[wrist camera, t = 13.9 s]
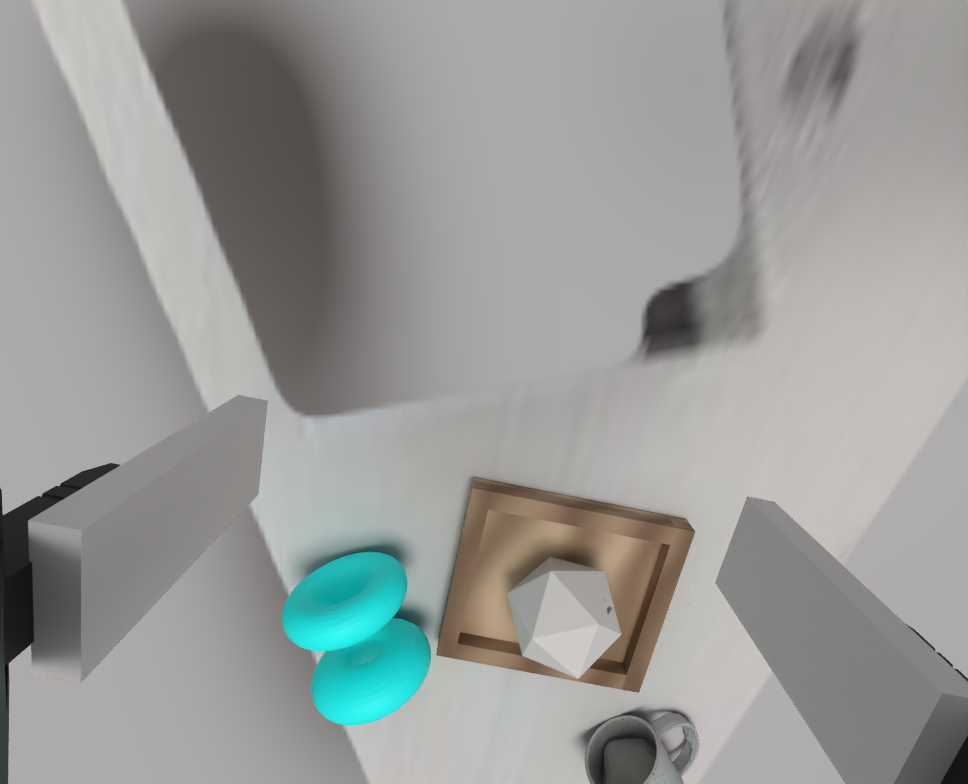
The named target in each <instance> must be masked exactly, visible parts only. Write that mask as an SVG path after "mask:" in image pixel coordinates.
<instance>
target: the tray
mask: <svg viewBox="0 0 968 784" xmlns="http://www.w3.org/2000/svg"><path fill="white" fill-rule="evenodd" d="M694 533H695V531H694V530H693V528H692V527H691V525H690V524H689V522H688V521H687V519H683V518H678V517H673V516H668V515H663V514H658V513H653V512H648V511H643V510H638V509H633V508H627V507H622V506H617V505H612V504H607V503H602V502H597V501H592V500H587V499H582V498H577V497H572V496H567V495H562V494H556V493H551V492H546V491H541V490H536V489H531V488H526V487H521V486H516V485H511V484H506V483H501V482H496V481H491V480H485V479H480V478H475V477H474V478H473V483H472V488H471V492H470V497H469V501H468V506H467V511H466V515H465V520H464V524H463V529H462V534H461V538H460V543H459V547H458V552H457V557H456V561H455V566H454V570H453V575H452V580H451V584H450V589H449V593H448V598H447V603H446V607H445V612H444V616H443V621H442V625H441V630H440V635H439V640H438V647H437V654H436V655H438V656H444V657H449V658H454V659H460V660H465V661H471V662H476V663H481V664H487V665H492V666H498V667H503V668H508V669H514V670H519V671H525V672H530V673H536V674H541V675H546V676H552V677H557V678H563V679H568V680H573V681H579V682H584V683H590V684H595V685H600V686H606V687H611V688H617V689H622V690H627V691H633V692H638V693H639V691H640V688H641V685H642V682H643V679H644V677H645V674H646V671H647V668H648V665H649V662H650V659H651V657H652V654H653V651H654V648H655V645H656V642H657V639H658V637H659V634H660V631H661V628H662V625H663V622H664V619H665V616H666V614H667V611H668V608H669V605H670V602H671V599H672V596H673V594H674V591H675V588H676V585H677V582H678V579H679V576H680V573H681V571H682V568H683V565H684V562H685V559H686V556H687V553H688V551H689V548H690V545H691V542H692V539H693V536H694ZM550 556H551V557H554V558H558V559H561V560H565V561H569V562H572V563H576V564H580V565H583V566H587V567H591V568H594V569H598V570H602V571H605V574H606V578H607V582H608V586H609V589H610V593H611V597H612V601H613V604H614V608H615V612H616V616H617V620H618V623H619V627H620V631H621V636H620V637H619V638H618V639H617V640H616V641H615V642H614V643H613V644H612V645H611V646H610V647H609V648H608V649H607V650H606V651H605V652H604V653H603V654H602V655H601V656H600V657H599V658H598V659H597V660H596V661H595V662H594V663H593V664H592V665H591V666H590V667H589V668H588V669H587V670H586V672H585V673H584V674H583V675H582V676H581V677H580V678H579V679H577V678H575V677H572V676H570V675H568V674H565V673H563V672H560V671H558V670H555V669H553V668H551V667H548V666H546V665H543V664H541V663H539V662H536V661H534V660H531V659H529V658H527V657H524V656H522V653H521V649H520V645H519V641H518V636H517V632H516V628H515V624H514V620H513V616H512V612H511V608H510V604H509V599H508V595H507V593H508V592H509V591H510V590H511V589H513V588H514V587H515V586H516V585H517V584H518V583H520V582H521V581H522V580H523V579H524V578H526V577H527V576H528V575H529V574H530V573H531V572H533V571H534V570H535V569H536V568H537V567H539V566H540V565H541V564H542V563H543V562H544V561H546V560H547V559H548V558H549V557H550Z"/></svg>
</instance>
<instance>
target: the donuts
mask: <svg viewBox="0 0 968 784" xmlns="http://www.w3.org/2000/svg"><path fill="white" fill-rule="evenodd" d="M406 591H407V576H406V572H405V570H404V568H403V566H402V565H401V563H400V562H399V561H398V560H396V559H395V558H394V557H392V556H390V555H387V554H384V553H380V552H362V553H356V554H351V555H347V556H344V557H341V558H339V559H336V560H334V561H331V562H329V563H327V564H325V565H324V566H322V567H320V568H318V569H317V570H315V571H314V572H312V573H311V574H310V575H308V576H307V577H306V578H305V579H303V580H302V581H301V582H300V583H299V584H298V585H297V586H296V587H295V589H294V590H293V591H292V592H291V594H290V596H289V597H288V599H287V601H286V603H285V605H284V609H283V614H282V623H283V628H284V630H285V633H286V635H287V636H288V637H289V639H290V640H291V641H292V642H294V643H295V644H296V645H298V646H300V647H302V648H305V649H308V650H312V651H326V652H325V653H324V655H323V656H322V658H321V659H320V661H319V663H318V665H317V667H316V670H315V672H314V675H313V679H312V697H313V701H314V703H315V706H316V708H317V709H318V711H319V712H320V713H321V714H322V715H323V716H324V717H325V718H327V719H328V720H330V721H332V722H335V723H338V724H341V725H360V724H366V723H370V722H374V721H377V720H379V719H381V718H383V717H385V716H387V715H389V714H391V713H393V712H394V711H396V710H397V709H399V708H400V707H401V706H403V705H404V704H405V703H406V702H407V701H408V700H409V699H410V698H411V697H412V696H413V695H414V694H415V693H416V691H417V690H418V689H419V687H420V686H421V684H422V683H423V681H424V679H425V677H426V675H427V672H428V669H429V666H430V660H431V650H430V645H429V642H428V639H427V637H426V635H425V634H424V632H423V631H422V630H421V629H420V628H419V627H418V626H416V625H415V624H413V623H411V622H409V621H407V620H403V619H398V618H393V616H394V615H395V614H396V613H397V611H398V610H399V608H400V607H401V605H402V603H403V600H404V598H405V595H406ZM370 660H371V661H370Z"/></svg>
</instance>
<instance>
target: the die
mask: <svg viewBox="0 0 968 784" xmlns="http://www.w3.org/2000/svg"><path fill="white" fill-rule="evenodd" d="M507 595H508V599H509V604H510V608H511V612H512V616H513V620H514V624H515V628H516V632H517V636H518V641H519V645H520V649H521V653H522V656H524V657H527V658H529V659H531V660H534V661H536V662H539V663H541V664H543V665H546V666H548V667H551V668H553V669H555V670H558V671H560V672H563V673H565V674H568V675H570V676H572V677H575V678H577V679H579V678H580V677H581V676H582V675H583V674H584V673H585V672H586V670H587V669H588V668H589V667H590V666H591V665H592V664H593V663H594V662H595V661H596V660H597V659H598V658H599V657H600V656H601V655H602V654H603V653H604V652H605V651H606V650H607V649H608V648H609V647H610V646H611V645H612V644H613V643H614V642H615V641H616V640H617V639H618V638H619V637H620V636H621V631H620V627H619V623H618V620H617V616H616V612H615V608H614V604H613V601H612V597H611V593H610V589H609V586H608V582H607V578H606V574H605V571H602V570H598V569H594V568H591V567H587V566H583V565H580V564H576V563H572V562H569V561H565V560H561V559H558V558H554V557H551V556H550V557H549V558H548V559H547V560H546V561H544V562H543V563H542V564H541V565H540V566H539V567H537V568H536V569H535V570H534V571H533V572H531V573H530V574H529V575H528V576H527V577H526V578H524V579H523V580H522V581H521V582H520V583H518V584H517V585H516V586H515V587H514V588H513V589H511V590H510V591H509V592H508V593H507Z"/></svg>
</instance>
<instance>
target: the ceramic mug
mask: <svg viewBox="0 0 968 784" xmlns="http://www.w3.org/2000/svg"><path fill="white" fill-rule="evenodd" d="M678 726H682V727H683V728H684V731H685V738H686V743H685V746H684V748H683V750H682V751H681V753H680V754H679V756H678V757H677V758H676V759H675V760H674V761H673V762H672V761H671V759H670V757H669V755H668V753H667V751H666V749H665V747H664V745H663V743H662V741H661V737H662V736H663V734H665V733H666V732H668V731H670V730H671V729H673V728H675V727H678ZM698 748H699V739H698V734H697V732H696V730H695V727H694V726H693V725H692V724H691V723H690V722H689V721H688V720H687V719H686V718H684V717H683V716H682V715H680V714H677V713H670V714H665V715H663V716H661V717H660V718H658V719H657V720H655V721H654V722H653V723H651V724H649V723H648V722H647V721H645V720H643V719H642V718H639V717H637V716H632V715H624V716H618V717H614V718H612V719H610V720H608V721H606V722H604V723H603V724H602V725H601V726H600V727H599V728H598V729H597V730H596V731H595V732H594V734H593V735H592V737H591V739H590V741H589V743H588V746H587V749H586V754H585V767H586V772H587V776H588V779H589V781H590V784H684V783H683V781H682V778H681V776H682V775H683V774H684V773H685V772H686V771H687V770H688V769H689V767H690V766H691V765H692V763H693V762H694V760H695V758H696V756H697V753H698Z"/></svg>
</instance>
